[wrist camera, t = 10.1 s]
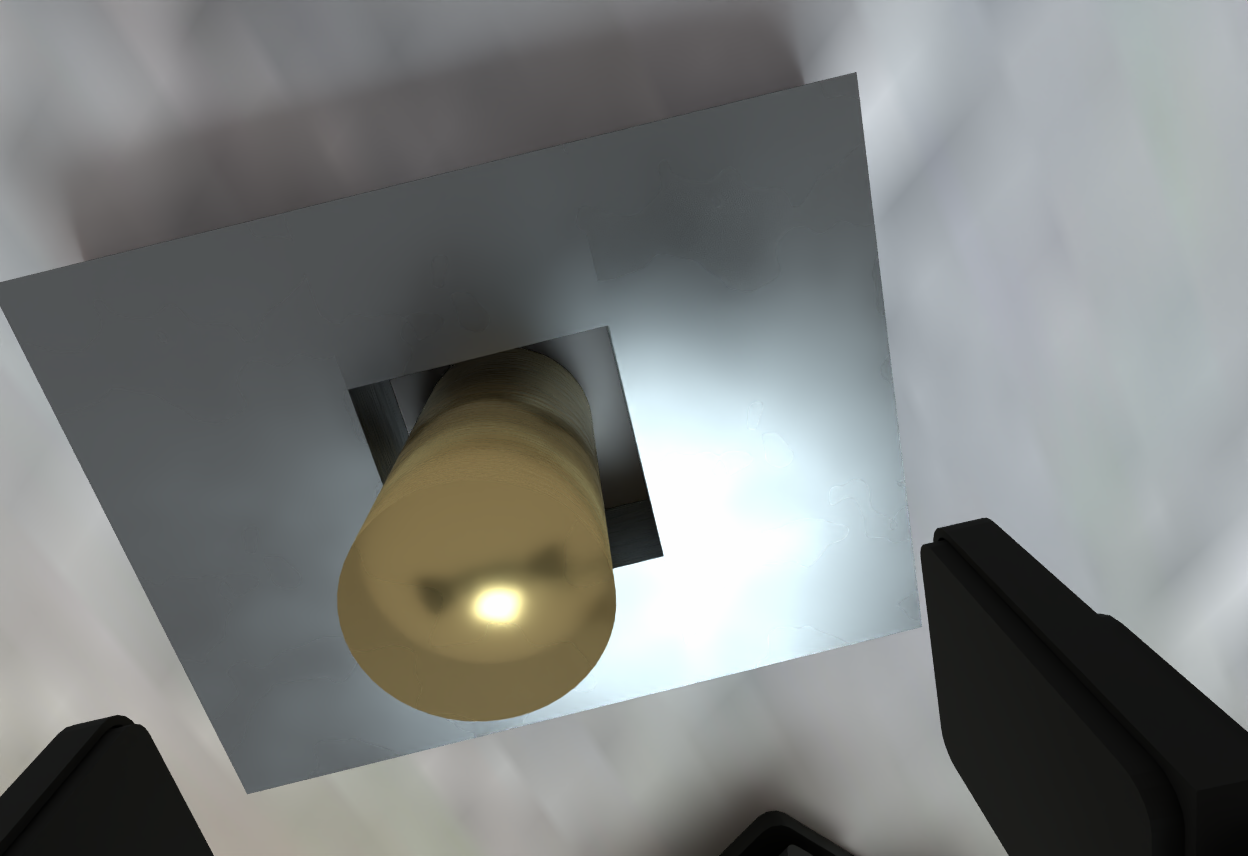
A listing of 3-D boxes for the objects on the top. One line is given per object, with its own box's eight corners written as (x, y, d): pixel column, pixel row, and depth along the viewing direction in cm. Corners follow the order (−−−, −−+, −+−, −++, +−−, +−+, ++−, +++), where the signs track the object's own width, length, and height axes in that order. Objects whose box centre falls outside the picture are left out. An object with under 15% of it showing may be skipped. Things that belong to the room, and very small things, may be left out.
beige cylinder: (569, 328, 18) (579, 449, 11) (609, 483, 20) (642, 685, 12) (401, 370, 18) (294, 520, 11) (453, 521, 20) (390, 748, 12)
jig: (806, 86, 17) (856, 71, 14) (872, 563, 21) (921, 627, 18) (83, 263, 17) (-11, 285, 14) (288, 708, 21) (246, 794, 18)
